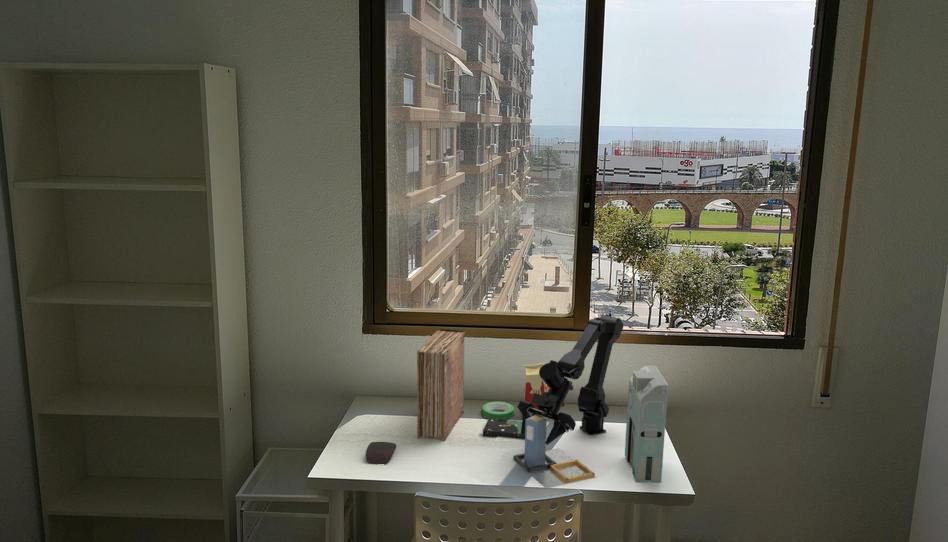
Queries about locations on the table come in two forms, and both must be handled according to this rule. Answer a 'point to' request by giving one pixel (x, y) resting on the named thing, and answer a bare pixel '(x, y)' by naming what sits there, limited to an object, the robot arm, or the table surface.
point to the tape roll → (498, 406)
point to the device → (646, 424)
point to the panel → (556, 469)
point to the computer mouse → (380, 452)
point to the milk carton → (534, 383)
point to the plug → (535, 440)
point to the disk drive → (503, 428)
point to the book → (440, 384)
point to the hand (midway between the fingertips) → (533, 439)
